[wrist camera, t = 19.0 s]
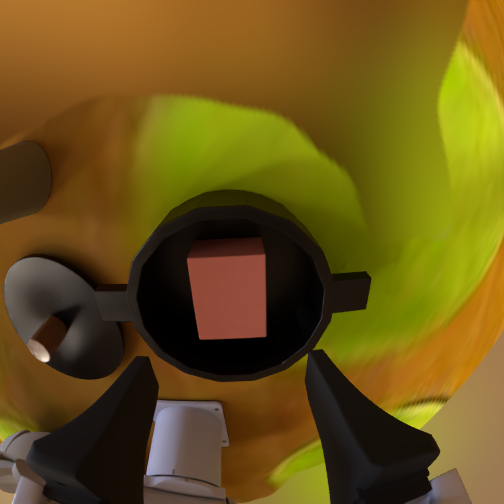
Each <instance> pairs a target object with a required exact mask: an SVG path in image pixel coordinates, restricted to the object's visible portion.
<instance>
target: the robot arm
mask: <svg viewBox="0 0 504 504" xmlns="http://www.w3.org/2000/svg"><path fill="white" fill-rule="evenodd" d="M305 384H306V390H307V396H308V401H309V404H310V407H311V410H312V414H313V417H314V420H315V423H316V426H317V429H318V433H319V436H320V439H321V443H322V448H323V453H324V459H325V464H326V471H327V478H328V485H329V493H330V502H331V504H472V502H471V500H470V498H469V496H468V493H467V491H466V489H465V486H464V484H463V482H462V480H461V478H460V476H459V473H458V471H457V469H456V468H453V469H451V470H450V471H448V472H446V473H443V474H441V475H440V476H437V477H436V478H434V479H432V480H430V481H429V480H428V478H427V476H429V471H428V469H427V468H428V467H429V466H430V465H431V464H432V463H433V462H434V461H435V460H436V458H437V457H438V456H439V454H440V449H439V447H438V445H437V443H436V441H435V440H434V438H433V437H432V435H431V434H429V433H426V432H423V431H421V430H419V429H416V428H414V427H411V426H409V425H407V424H405V423H403V422H402V421H400V420H398V419H396V418H395V417H393V416H391V415H390V414H388V413H387V412H385V411H384V410H382V409H381V408H379V407H378V406H377V405H375V404H374V403H373V402H372V401H370V400H369V399H368V398H367V397H365V396H364V395H363V394H362V393H361V392H360V391H359V390H358V389H357V388H356V387H355V386H354V385H353V384H352V383H351V382H350V381H349V380H348V379H347V378H346V377H345V376H344V375H343V374H342V373H341V371H340V370H339V369H338V368H337V367H336V366H335V364H334V363H333V362H332V361H331V360H330V358H329V357H328V356H327V354H326V353H325V352H324V351H323V350H322V349H320V350H311V351H309V352H308V360H307V368H306V376H305ZM158 390H159V385H158V382H157V379H156V376H155V374H154V371H153V368H152V365H151V362H150V359H149V357H146V356H136V357H135V358H134V359H133V361H132V362H131V363H130V364H129V365H128V367H127V368H126V369H125V370H124V371H123V373H122V374H121V375H120V376H119V377H118V378H117V380H116V381H115V382H114V383H113V384H112V385H111V386H110V388H109V389H108V390H107V391H106V392H105V393H104V394H103V395H102V396H101V397H100V398H99V399H98V400H97V401H96V402H95V403H94V404H93V405H92V406H90V407H89V408H88V409H87V410H86V411H85V412H83V413H82V414H81V415H79V416H78V417H76V418H75V419H74V420H72V421H71V422H69V423H68V424H66V425H65V426H63V427H61V428H60V429H58V430H56V431H54V432H52V433H50V434H48V435H46V436H44V437H41V438H39V439H37V440H34V441H33V443H32V446H31V448H30V450H29V453H28V455H27V457H26V460H25V462H26V464H27V466H28V467H29V468H30V469H31V470H32V471H34V472H35V473H36V474H37V475H38V476H40V477H41V478H42V479H43V480H44V481H46V483H45V486H43V485H42V484H40V483H38V482H36V481H34V480H32V479H29V478H27V477H25V476H21V478H20V481H19V484H18V487H17V490H16V493H15V496H14V499H13V502H12V504H237V503H236V502H235V501H234V499H233V498H232V497H226V489H225V488H221V447H227V446H229V438H228V433H227V428H226V423H225V418H224V413H223V407H222V404H221V403H220V402H217V401H210V402H203V401H167V400H157V399H158ZM153 419H154V421H155V423H156V424H155V429H154V434H153V439H152V445H151V450H150V455H149V461H148V466H147V472H146V475H144V467H145V456H146V448H147V442H148V438H149V434H150V430H151V426H152V422H153Z"/></svg>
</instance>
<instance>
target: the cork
mask: <svg viewBox="0 0 504 504" xmlns="http://www.w3.org/2000/svg"><path fill="white" fill-rule="evenodd" d="M51 178H52V173H51V168H50V163H49V160H48V158H47V156H46V154H45V152H44V150H43V149H42V148H41V147H40V146H39V145H38V144H36V143H34V142H32V141H22V142H19V143H16V144H14V145H11V146H9V147H6V148H4V149H1V150H0V224H2V223H5V222H8V221H11V220H15V219H18V218H21V217H25V216H28V215H31V214H34V213H37V212H38V211H39V210H40V209H41V208H42V207H44V205H45V203H46V201H47V199H48V197H49V194H50V190H51Z"/></svg>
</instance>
